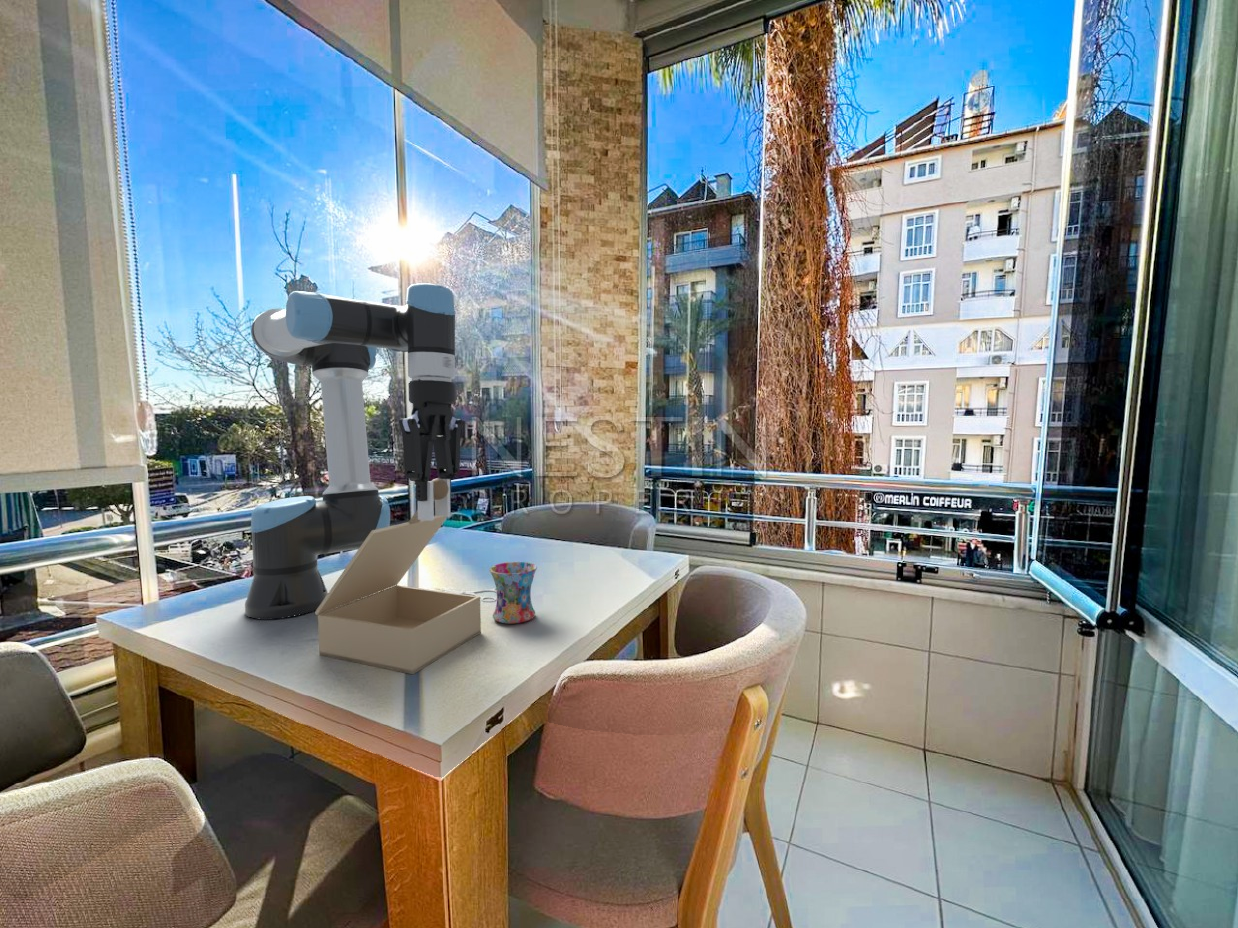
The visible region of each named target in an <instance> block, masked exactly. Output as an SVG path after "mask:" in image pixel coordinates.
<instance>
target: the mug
mask: <svg viewBox="0 0 1238 928" xmlns="http://www.w3.org/2000/svg"><path fill="white" fill-rule="evenodd" d="M537 568H538V567H537V565H536V564H534V563H532V562H528V561H509V562H503V563H502V562H501V563H498V564H494V565H493V566H491V567H490V569H489V572H490V574H491V576H492V579H493V581H494V584H495V588H496V590H497V593H496V605H495V609H494V611H493V614H492V618H493V619H494V621H496V622H499V623H503V624H510V625H511V624H513V625H514V624H521V623H525V622H528V621H529V620H531V619H533V618H534V617H535V615H536V611H535V609H534V606H533V603H532V595H531V591H532V584H533V581H534V577H535V573H536V571H537Z"/></svg>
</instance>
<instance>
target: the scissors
mask: <svg viewBox="0 0 1238 928" xmlns="http://www.w3.org/2000/svg"><path fill="white" fill-rule="evenodd" d="M432 590H437V591H443V592H450V593H457V594H464V595H472V596H479V597H480V602H483V603H493V602H497V597H495V596H481V595H478V593H480V594H481V593H486V592H487V593H488V592H490V593H491V592H493V593H496V594H497V590H496V587H493V588H490V589H482V590H468V591H465V590H463V591H460V590H453V589H445V588H432ZM485 599H492V600H485Z"/></svg>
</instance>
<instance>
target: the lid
mask: <svg viewBox="0 0 1238 928" xmlns="http://www.w3.org/2000/svg"><path fill="white" fill-rule="evenodd" d="M429 481H430V482H433V496H434V502H435V500H440V499H443V498H444V497H445V496H446V495H447V494H448V490H449V488H448V485H447V483H446V482H445V481H444V480H442V479H440V478H438V479H437V478H433V479H432V480H429ZM447 519H448V517H446V516H435V515H434V520H432V521H427V520H418V509H416V511H415V513H414V514H413V515H412V517H411V518H410V519H409V520H408V522H407V521H406V522H402V523H399V524H394V525H389V527H385V528H381V529H376V530H372V531H371V532H370V534H369V535H368V536H367V538H366V539H365V541H364V542H363V544H362V545H361V547H360V548H359V549H357V551H356V552H355V553H354V556H353V557H352V559H350V561H349V562H348V564H347V565H346V567H345V568H344V570H343V571H342V573H341V574H340V575H339V577H338V578H337V580H336V581H335V582H334V584H333V585H332V587H331V589H329V591H328V594H327V596H326V597H325V598H324V600H323V601H322V603H321V604H320V606H319V607H318V609H317V610H315V612H314V614H315V615H316V616H318V615H319V614H322V613H325V612H327V611H330V610H333V609H335V608H338V607H340V606H343V605H346V604H348V603H351V602H354V601H356V600H359V599H362V598H364V597H367V596H369V595H372V594H375V593H377V592H380V591H383V590H385V589H388V588H391V587H393V586H396V585H398V584H399V583H400V581H401V580H402V579H403V577H404V576H405V575H406V574H407V572H408V571H409V570H410V568H411V567H412V566H413V564H414V563H415V561H416V560H417V559H418V557H419V556H420V555H421V554H422V552H423V551H424V549H425V548H426V547H427V545H428V544H429V543H430V541H431V540H432V539H433V538H434V536H435V535H436V533H438V531H439V529H440V528H441V527H442V526H443V524H444V523H445V521H446V520H447Z"/></svg>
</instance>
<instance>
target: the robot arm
mask: <svg viewBox="0 0 1238 928" xmlns="http://www.w3.org/2000/svg"><path fill="white" fill-rule="evenodd" d="M454 297H455V296H454V293H453V291H452V290H451V289H450V288H448V287H446V286H442V285H440V284H439V285H438V284H433V283H416V284H415V283H413V284H411V285H409V286H408V287H407V290H406V298H405V303H406V305H394V304H386V303H381V302H374V301H366V300H361V299H360V300H358V299H353V298H346V297H342V296H335V295H328V294H325V293H324V294H323V293H320V292H317V291H309V292H308V291H301V290H300V291H299V290H295V291H292V292H291V293H290V294H289V295H288V299H286V304H285V309H284V308H283V309H282V308H270V309H268V310H265V311H263V312H261V313H260V314H258V315H257V316H255V318H254V320H253V322H252V324H251V328H250V333H251V339H252V341H253V342H254V344H255V345H256V347H257V348H258V349H259V350H260V351H262V352H263V353H264V354H265V355H267V356H268V357H270V358H272V359H275V360H277V361H280V362H284V363H287V364H292V365H301V366H310V367H311V374H312V376H313V377H314V378H316V379H317V380H318V381H319V382H320V386H321V400H322V412H323V413H322V414H323V423H324V425H323V426H324V427H323V428H324V435H325V437H324V439H325V448H326V449H325V450H326V460H327V461H326V462H327V470H328V471H327V473H328V475H327V476H328V486H327V488H325V490H324V491H323V492H322V496H321V497H322V501H317V500H316V498H315V497H314V496H312V495H302V496H293V497H286V498H281V499H276V500H273V501H272V500H271V501H268V502H265V503H262V504H260V505H258V506H256V507H255V508H254V509H253V511H251V512H252V513H251V515H250V516H251V517H250V518H251V519H250V520H251V521H250V522H251V523H250V528H249V529H250V530H249V531H250V532H251V545H252V562H253V564H252V567H253V568H252V569H253V578H252V581H251V584H250V587H249V589H248V594H247V597H246V600H245V603H244V614H246V615H247V616H249V617H253V618H260V619H259V620H271V619H270V618H280V619H283V618H282V617H287V618H289V617H288V616H293V617H295V616H294V615H298V616H300V615H299V614H302V615H304V614H303V613H306V614H308V613H307V612H309V613H312V612H314V610H315V611H316V610H317V609H318V607H319V606H320V604H321V603H322V601H323V600H324V598H325V597H326V596H327V594H328V593H329V591H328V589H327V588H326V585H325V582H324V579H323V577H322V575H321V573H320V571H319V567H318V565H319V564H318V556H319V555H324V554H332V553H337V552H338V553H339V552H345V551H353V550H358V549H359V548H360V547H361V545H362V544H363V542H364V541H365V539H366V538H367V536H368V535H369V534H370V532H371V531H372V530H376V529H381V528H385V527H389V526H390V523H391V507H390V505H389V501H388V499H387V498H386V497H385V496H382V495H379V488H378V487H377V486H375V484H373V483H372V481H371V474H370V472H371V471H370V460H369V450H368V448H369V447H368V437H367V425H366V424H367V423H366V412H365V402H364V401H365V400H364V399H365V398H364V391H363V390H364V388H363V381H365V379H366V378H367V377H369V370H372V369H373V368H374V367H375V365H376V361H377V357H376V356H377V348H381V349H382V348H383V349H387V350H388V351H390V352H391V351H392V352H396V353H400V352H401V353H407V377H408V378H410V379H411V380H410V381H409V382H408V401H409V403H410V404H413V407H412V410H411V415H410V416H408V417H406V418H403V417H401V418H400V419H399V420H398V424H399V425H398V426H399V427H400V431H401V433H402V448H403V449H402V450H403V463H404V467H403V468H404V477H405V478H406V479H409V481H411V482H414V483H415V500H416V502H417V510H418V520H427V521H432V520H434V516H446V517H447V518H449V517H451V496H452V479H457V477H458V474H460V471H461V470H460V469H461V468H460V467H461V436H462V435H461V434H462V433H461V432H462V429H463V424H464V420H463V419H462V418H456V417H454V414H453V411H452V407H451V406H452V405H454V404H455V403H456V402H457V395H456V394H457V393H456V392H457V391H456V390H457V389H456V383H455V382H452V380H455V378H456V358H455V357H456V314H457V313H456V310H455V298H454ZM433 451H434V457H435V465H436V470H437V478H436V479H442V480H444V481H445V482H446V483H447V485H448V488H449V490H448V494H447V495H446V496H445V497H444V498H443V499H440V500H435V501H434V496H433V482H430V481H431V480H430V479H431V468H432V461H433ZM311 611H312V612H311ZM246 615H245V616H246ZM247 616H246V617H247ZM249 617H248V618H249ZM253 618H252V619H253Z"/></svg>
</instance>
